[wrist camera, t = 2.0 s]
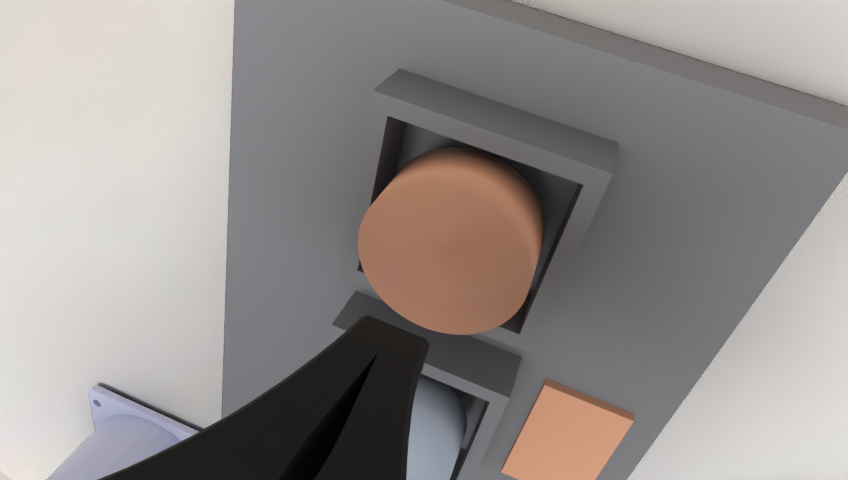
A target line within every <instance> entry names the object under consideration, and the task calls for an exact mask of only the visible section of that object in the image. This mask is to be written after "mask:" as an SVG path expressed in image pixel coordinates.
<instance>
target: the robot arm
mask: <svg viewBox="0 0 848 480" xmlns="http://www.w3.org/2000/svg"><path fill="white" fill-rule="evenodd" d="M429 347H430V345H429V343H428V341H427V340H426V339H425V338H423V337H420V336H418V335H416V334H413V333H411V332H408V331H406V330H403V329H401V328H398V327H396V326H393V325H391V324H388V323H386V322H384V321H381V320H379V319H376V318H374V317H371V316H369V315H366V316H363V317H361V318H360V319H359V320H358V321H357V322H355V323H354V324H353V325H352V326H351V327H350V328H349V329H348V330H347V331H346V332H344V333H343V334H342V335H341V336H340V337H339V338H337V339H336V340H335V341H334V342H333V343H331V344H330V345H329V346H328V347H326V348H325V349H324V350H323V351H321V352H320V353H319V354H318V355H316V356H315V357H314V358H312V359H311V360H310V361H308V362H307V363H306V364H304V365H303V366H302V367H300V368H299V369H298V370H296V371H295V372H293V373H292V374H291V375H289V376H288V377H287V378H285V379H284V380H282V381H281V382H280V383H278V384H277V385H275V386H274V387H272V388H270V389H269V390H267V391H266V392H264V393H263V394H261V395H260V396H258V397H257V398H255V399H254V400H252V401H251V402H249V403H248V404H246V405H245V406H243V407H241V408H240V409H238V410H236V411H235V412H233V413H231V414H230V415H228V416H226V417H225V418H223V419H221V420H220V421H218V422H216V423H214V424H212V425H211V426H209V427H207V428H205V429H203V430H202V431H200V432H199V431H197V430H195V429H193V428H190V427H188V426H186V425H184V424H182V423H179V422H177V421H175V420H173V419H171V418H168V417H166V416H164V415H162V414H160V413H157V412H155V411H153V410H151V409H149V408H146V407H144V406H142V405H140V404H138V403H135V402H133V401H131V400H129V399H127V398H124V397H122V396H120V395H118V394H116V393H113V392H111V391H109V390H107V389H105V388H103V387H100V386H94V387H93V388H92V389H91V390H90V391H89V397H90V403H91V409H92V415H93V421H94V427H95V431H94V432H93V433H92V434H91V435H90V436H89V437H88V438H87V439H86V440H85V441H84V442H83V443H82V444H81V445H80V446H79V447H78V448H77V449H76V450H75V451H74V452H73V453H72V454H71V455H70V456H69V457H68V458H67V459H66V460H65V461H64V462H63V463H62V464H61V465H60V466H59V467H58V468H57V469H56V470H55V471H54V472H53V473H52V474H51V475H50V476H49V477H48V478H47V479H46V480H406V476H407V456H408V443H409V434H410V425H411V416H412V408H413V402H414V396H415V391H416V388H417V385H418V382H419V379H420V376H421V372H422V369H423V366H424V363H425V360H426V356H427V353H428V350H429Z"/></svg>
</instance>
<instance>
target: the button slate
mask: <svg viewBox="0 0 848 480" xmlns="http://www.w3.org/2000/svg"><path fill="white" fill-rule="evenodd" d="M466 430H467V417H466V413H465V410H464V408H463V405H462V403H461V402H460V400H459V398H458V397H457V396H456V394H455V393H454V392H453V391H452V390H451V389H450V388H449V387H448V386H447V385H446V384H445V383H442V382H440V381H437V380H435V379H433V378H430V377H428V376H425V375H423V374H421V376H420V379H419V382H418V385H417V388H416V391H415V396H414V402H413V408H412V416H411V425H410V434H409V443H408V456H407V476H406V480H450V477H451V474H452V471H453V469H454V466H455V463H456V460H457V457H458V454H459V451H460V448H461V445H462V442H463V440H464V437H465V434H466Z"/></svg>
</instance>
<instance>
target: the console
mask: <svg viewBox="0 0 848 480" xmlns="http://www.w3.org/2000/svg"><path fill="white" fill-rule="evenodd" d="M447 147H463V148H470V149H475V150H479V151H482V152H485V153H488V154H490V155H492V156H495V157H497V158H498V159H500V160H502V161H504V162H505V163H507V164H508V165H510V166H511V167H512V168H514V169H515V170H516V171H517V172H518V173H519V174H520V175H521V176H522V177H523V178H524V179H525V180H526V181H527V183H528V184H529V185H530V186H531V188H532V189H533V191H534V193H535V194H536V196H537V198H538V200H539V203H540V205H541V208H542V211H543V215H544V221H545V237H544V244H543V247H542V250H541V253H540V256H539V260H538V263H537V266H536V269H535V272H534V276H533V279H532V282H531V285H530V288H529V291H528V295H527V297H526V299H525V301H524V303H523V305H522V306H521V307H520V309H519V310H518V311H517V313H516V314H514V315H513V316H512V317H511V318H510V319H509V320H508V321H506V322H505V323H503V324H502V325H500V326H498V327H496V328H494V329H491V330H488V331H485V332H481V333H476V334H467V335H455V334H446V333H441V332H437V331H432V330H430V329H427V328H424V327H421V326H419V325H417V324H415V323H413V322H411V321H409V320H407V319H406V318H404V317H402V316H401V315H400V314H398V313H397V312H395V311H394V310H393V309H392V308H391V307H389V306H388V305H387V304H386V303H385V302H384V301H383V300H382V299H381V298H380V297H379V295H378V294H377V293H376V291H375V290H374V289H373V288H372V286H371V284H370V283H369V281H368V279H367V277H366V275H365V273H364V271H363V268H362V265H361V262H360V258H359V252H358V235H359V229H360V225H361V222H362V220H363V218H364V215H365V213H366V212H367V210H368V209H369V207H370V206H371V205H372V204H373V202H374V201H375V200H376V199H377V198H378V196H379V195H380V194H381V193H382V192H383V190H384V189H385V188H386V187H387V186H388V184H389V183H390V182H391V181H392V180H393V179H394V177H395V176H396V175H397V174H398V173H399V171H400V170H401V169H402V168H403V167H404V166H405V165H406V164H407V163H409V162H410V161H411V160H412V159H414V158H416V157H417V156H419V155H421V154H423V153H426V152H428V151H431V150H435V149H439V148H447ZM847 172H848V107H847V106H843V105H840V104H837V103H834V102H831V101H827V100H824V99H821V98H818V97H815V96H812V95H808V94H805V93H802V92H799V91H796V90H792V89H789V88H786V87H783V86H780V85H776V84H773V83H770V82H767V81H764V80H761V79H757V78H754V77H751V76H748V75H745V74H741V73H738V72H735V71H732V70H729V69H726V68H722V67H719V66H716V65H713V64H710V63H706V62H703V61H700V60H697V59H694V58H690V57H687V56H684V55H681V54H678V53H675V52H671V51H668V50H665V49H662V48H659V47H655V46H652V45H649V44H646V43H643V42H639V41H636V40H633V39H630V38H627V37H624V36H620V35H617V34H614V33H611V32H608V31H604V30H601V29H598V28H595V27H592V26H589V25H585V24H582V23H579V22H576V21H573V20H569V19H566V18H563V17H560V16H557V15H553V14H550V13H547V12H544V11H541V10H538V9H534V8H531V7H528V6H525V5H522V4H518V3H515V2H512V1H509V0H235V7H234V38H233V70H232V102H231V134H230V165H229V197H228V229H227V261H226V292H225V324H224V356H223V388H222V419H223V418H225V417H226V416H228V415H230V414H231V413H233V412H235V411H236V410H238V409H240V408H241V407H243V406H245V405H246V404H248V403H249V402H251V401H252V400H254V399H255V398H257V397H258V396H260V395H261V394H263V393H264V392H266V391H267V390H269V389H270V388H272V387H274V386H275V385H277V384H278V383H280V382H281V381H282V380H284V379H285V378H287V377H288V376H289V375H291V374H292V373H293V372H295V371H296V370H298V369H299V368H300V367H302V366H303V365H304V364H306V363H307V362H308V361H310V360H311V359H312V358H314V357H315V356H316V355H318V354H319V353H320V352H321V351H323V350H324V349H325V348H326V347H328V346H329V345H330V344H331V343H333V342H334V341H335V340H336V339H337V338H339V337H340V336H341V335H342V334H343V333H344V332H346V331H347V330H348V329H349V328H350V327H351V326H352V325H353V324H354V323H355V322H357V321H358V320H359V319H360V318H361V317H363V316H366V315H369V316H371V317H374V318H376V319H379V320H381V321H384V322H386V323H388V324H391V325H393V326H396V327H398V328H401V329H403V330H406V331H408V332H411V333H413V334H416V335H418V336H420V337H423V338H425V339H426V340H427V341H428V343H429V345H430V347H429V350H428V353H427V356H426V360H425V363H424V366H423V369H422V372H421V374H423V375H425V376H428V377H430V378H433V379H435V380H437V381H440V382H442V383H445V384H446V385H447V386H448V387H449V388H450V389H451V390H452V391H453V392H454V393H455V394H456V396H457V397H458V398H459V400H460V402H461V403H462V405H463V408H464V410H465V413H466V417H467V430H466V434H465V437H464V440H463V442H462V445H461V448H460V451H459V454H458V457H457V460H456V463H455V466H454V469H453V471H452V474H451V477H450V480H627V478H628V477H629V476H630V474H631V473H632V471H633V470H634V469H635V467H636V466H637V464H638V463H639V462H640V460H641V459H642V457H643V456H644V455H645V453H646V452H647V451H648V449H649V448H650V446H651V445H652V444H653V442H654V441H655V439H656V438H657V437H658V435H659V434H660V432H661V431H662V430H663V428H664V427H665V425H666V424H667V423H668V421H669V420H670V418H671V417H672V416H673V414H674V413H675V411H676V410H677V409H678V407H679V406H680V405H681V403H682V402H683V400H684V399H685V398H686V396H687V395H688V393H689V392H690V391H691V389H692V388H693V386H694V385H695V384H696V382H697V381H698V379H699V378H700V377H701V375H702V374H703V372H704V371H705V370H706V368H707V367H708V365H709V364H710V363H711V361H712V360H713V359H714V357H715V356H716V354H717V353H718V352H719V350H720V349H721V347H722V346H723V345H724V343H725V342H726V340H727V339H728V338H729V336H730V335H731V333H732V332H733V331H734V329H735V328H736V326H737V325H738V324H739V322H740V321H741V319H742V318H743V317H744V315H745V314H746V313H747V311H748V310H749V308H750V307H751V306H752V304H753V303H754V301H755V300H756V299H757V297H758V296H759V294H760V293H761V292H762V290H763V289H764V287H765V286H766V285H767V283H768V282H769V280H770V279H771V278H772V276H773V275H774V273H775V272H776V271H777V269H778V268H779V267H780V265H781V264H782V262H783V261H784V260H785V258H786V257H787V255H788V254H789V253H790V251H791V250H792V248H793V247H794V246H795V244H796V243H797V241H798V240H799V239H800V237H801V236H802V234H803V233H804V232H805V230H806V229H807V227H808V226H809V225H810V223H811V222H812V221H813V219H814V218H815V216H816V215H817V214H818V212H819V211H820V209H821V208H822V207H823V205H824V204H825V202H826V201H827V200H828V198H829V197H830V195H831V194H832V193H833V191H834V190H835V188H836V187H837V186H838V184H839V183H840V181H841V180H842V179H843V177H844V176H845V174H846V173H847Z"/></svg>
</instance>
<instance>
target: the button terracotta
mask: <svg viewBox="0 0 848 480" xmlns="http://www.w3.org/2000/svg"><path fill="white" fill-rule="evenodd" d="M544 237H545V221H544V215H543V211H542V208H541V205H540V203H539V200H538V198H537V196H536V194H535V193H534V191H533V189H532V188H531V186H530V185H529V184H528V183H527V181H526V180H525V179H524V178H523V177H522V176H521V175H520V174H519V173H518V172H517V171H516V170H515V169H514V168H512V167H511V166H510V165H508V164H507V163H505V162H504V161H502V160H500V159H498V158H497V157H495V156H492V155H490V154H488V153H485V152H482V151H479V150H475V149H470V148H463V147H447V148H439V149H435V150H431V151H428V152H426V153H423V154H421V155H419V156H417V157H416V158H414V159H412V160H411V161H410V162H409V163H407V164H406V165H405V166H404V167H403V168H402V169H401V170H400V171H399V173H398V174H397V175H396V176H395V177H394V179H393V180H392V181H391V182H390V183H389V184H388V186H387V187H386V188H385V189H384V190H383V192H382V193H381V194H380V195H379V196H378V198H377V199H376V200H375V201H374V202H373V204H372V205H371V206H370V207H369V209H368V210H367V212H366V213H365V215H364V218H363V220H362V222H361V225H360V229H359V235H358V252H359V258H360V262H361V265H362V268H363V271H364V273H365V275H366V277H367V279H368V281H369V283H370V284H371V286H372V288H373V289H374V290H375V291H376V293H377V294H378V295H379V297H380V298H381V299H382V300H383V301H384V302H385V303H386V304H387V305H388V306H389V307H391V308H392V309H393V310H394V311H395V312H397V313H398V314H400V315H401V316H402V317H404V318H406V319H407V320H409V321H411V322H413V323H415V324H417V325H419V326H421V327H424V328H427V329H430V330H432V331H437V332H441V333H446V334H455V335H467V334H476V333H481V332H485V331H488V330H491V329H494V328H496V327H498V326H500V325H502V324H503V323H505V322H506V321H508V320H509V319H510V318H511V317H512V316H513V315H514V314H516V313H517V311H518V310H519V309H520V307H521V306H522V305H523V303H524V301H525V299H526V297H527V295H528V291H529V288H530V285H531V282H532V279H533V276H534V272H535V269H536V266H537V263H538V260H539V256H540V253H541V250H542V247H543V244H544Z"/></svg>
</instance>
